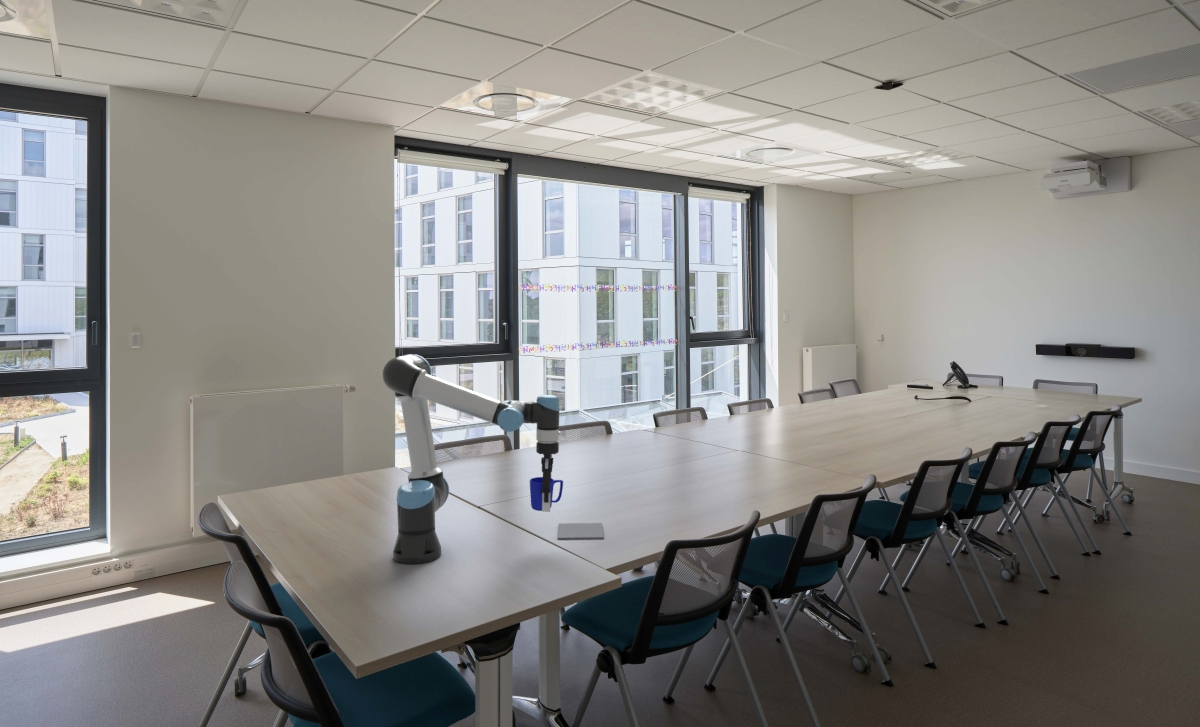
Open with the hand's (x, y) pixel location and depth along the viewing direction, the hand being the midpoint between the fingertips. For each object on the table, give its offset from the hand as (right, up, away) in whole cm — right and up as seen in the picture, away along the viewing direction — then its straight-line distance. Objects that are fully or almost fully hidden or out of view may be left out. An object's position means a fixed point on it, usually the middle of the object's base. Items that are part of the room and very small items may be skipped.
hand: (546, 507), depth 237 cm
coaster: (+11, -11, +13) cm, 21 cm away
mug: (0, -1, +1) cm, 1 cm away
